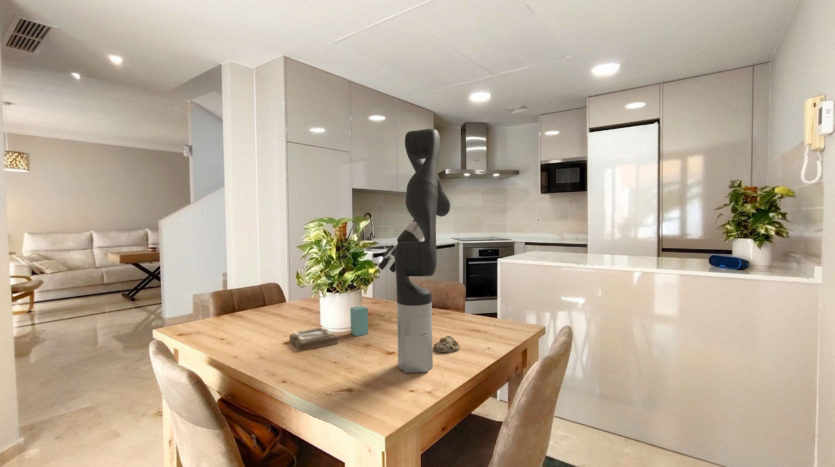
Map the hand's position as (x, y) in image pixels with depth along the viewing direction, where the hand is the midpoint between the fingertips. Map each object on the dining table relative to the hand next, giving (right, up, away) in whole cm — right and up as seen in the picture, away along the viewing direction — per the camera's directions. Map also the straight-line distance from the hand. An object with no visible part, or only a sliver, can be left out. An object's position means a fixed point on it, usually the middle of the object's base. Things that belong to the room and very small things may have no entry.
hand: (385, 269), depth 136 cm
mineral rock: (+21, -22, -21) cm, 37 cm away
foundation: (-22, -22, -14) cm, 34 cm away
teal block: (-9, -22, -5) cm, 24 cm away
